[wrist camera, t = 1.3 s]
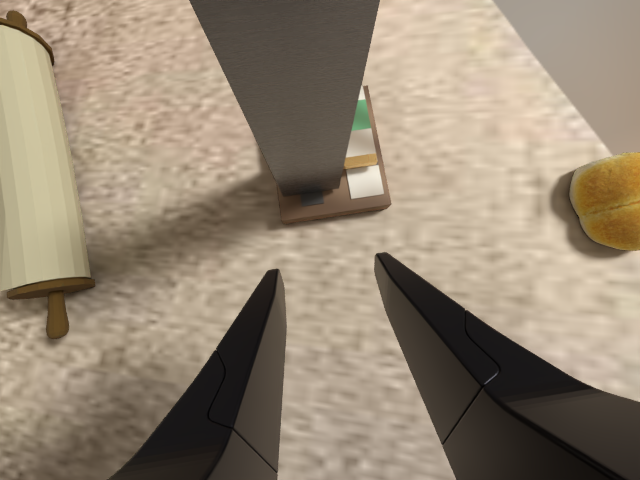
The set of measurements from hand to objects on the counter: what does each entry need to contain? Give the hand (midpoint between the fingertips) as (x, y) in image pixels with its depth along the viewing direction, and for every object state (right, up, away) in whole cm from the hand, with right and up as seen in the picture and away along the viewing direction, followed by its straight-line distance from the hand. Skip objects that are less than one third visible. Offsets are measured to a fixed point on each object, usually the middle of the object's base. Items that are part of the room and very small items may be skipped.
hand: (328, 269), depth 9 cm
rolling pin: (-26, +8, +15) cm, 31 cm away
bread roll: (+28, +5, +15) cm, 32 cm away
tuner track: (0, +9, +15) cm, 18 cm away
